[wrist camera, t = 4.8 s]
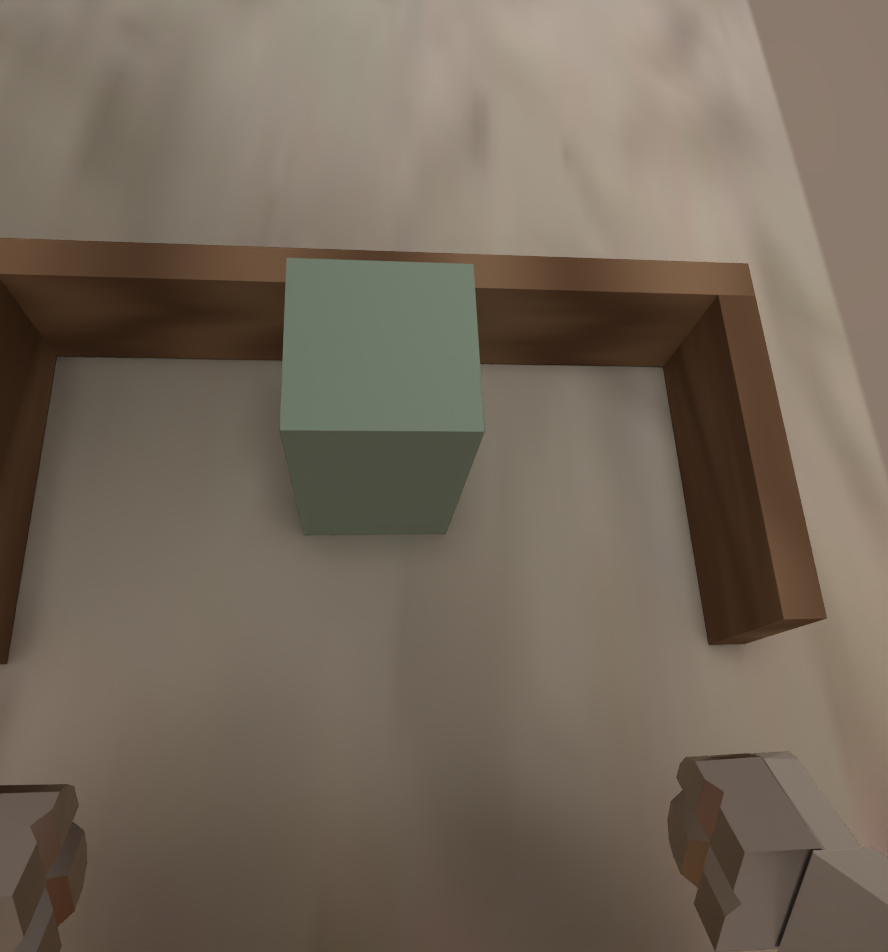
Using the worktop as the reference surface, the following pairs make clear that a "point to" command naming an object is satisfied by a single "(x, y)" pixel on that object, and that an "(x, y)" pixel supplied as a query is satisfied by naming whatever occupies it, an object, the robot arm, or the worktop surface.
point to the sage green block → (379, 393)
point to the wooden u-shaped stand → (500, 342)
